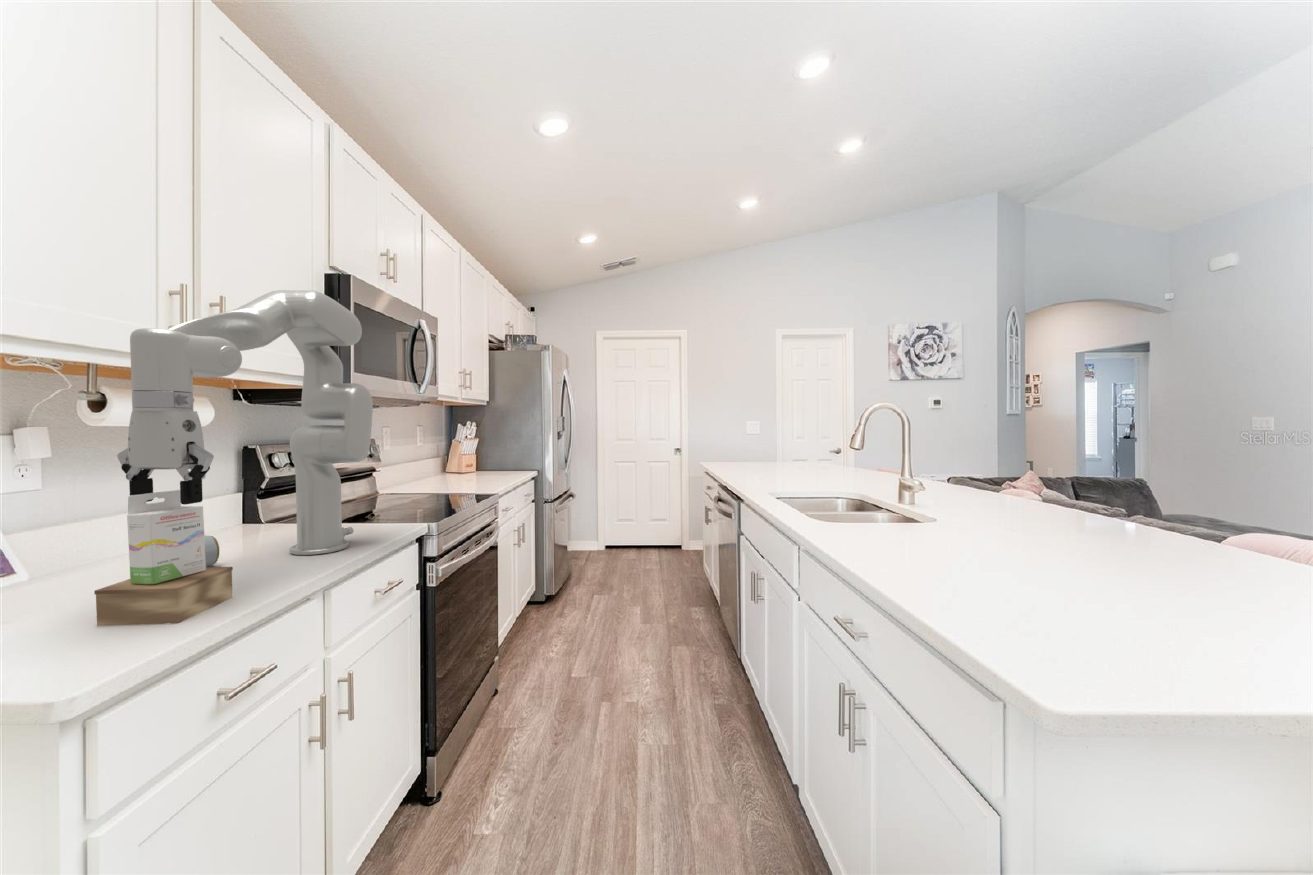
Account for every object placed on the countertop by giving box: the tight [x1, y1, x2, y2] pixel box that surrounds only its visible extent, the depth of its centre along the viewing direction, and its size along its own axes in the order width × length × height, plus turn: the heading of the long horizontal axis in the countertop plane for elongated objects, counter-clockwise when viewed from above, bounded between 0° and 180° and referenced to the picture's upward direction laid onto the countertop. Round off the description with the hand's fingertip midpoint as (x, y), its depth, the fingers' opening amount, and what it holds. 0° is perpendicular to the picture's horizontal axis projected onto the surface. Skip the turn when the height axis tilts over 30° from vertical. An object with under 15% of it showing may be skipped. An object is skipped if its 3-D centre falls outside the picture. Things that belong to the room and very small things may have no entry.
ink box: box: [126, 489, 206, 584], centre depth 88 cm, size 9×5×15 cm, turn 170°
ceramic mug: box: [204, 535, 220, 567], centre depth 112 cm, size 11×8×8 cm
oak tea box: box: [93, 566, 234, 627], centre depth 88 cm, size 12×12×6 cm
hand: (166, 502), depth 87 cm, fingers open, 9 cm apart
